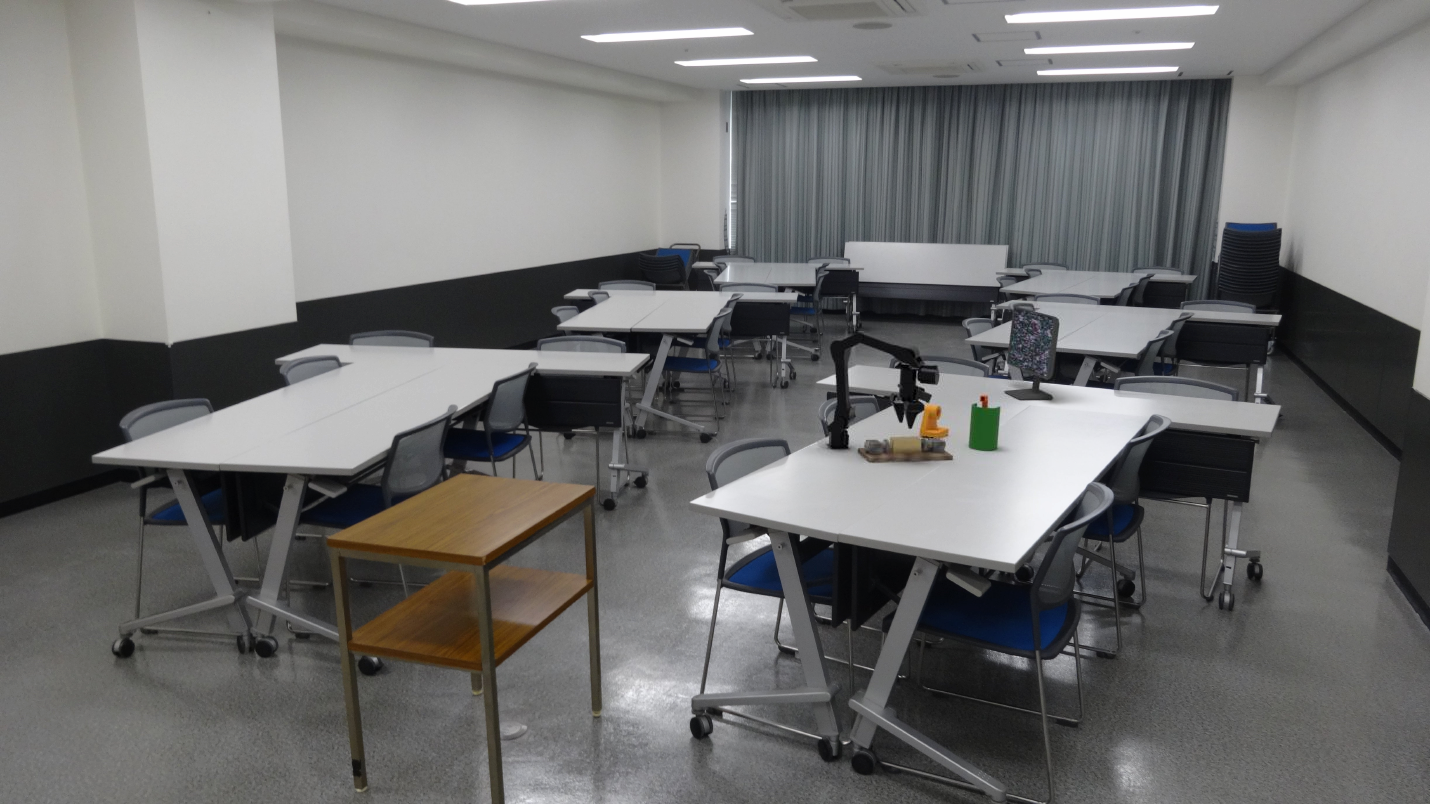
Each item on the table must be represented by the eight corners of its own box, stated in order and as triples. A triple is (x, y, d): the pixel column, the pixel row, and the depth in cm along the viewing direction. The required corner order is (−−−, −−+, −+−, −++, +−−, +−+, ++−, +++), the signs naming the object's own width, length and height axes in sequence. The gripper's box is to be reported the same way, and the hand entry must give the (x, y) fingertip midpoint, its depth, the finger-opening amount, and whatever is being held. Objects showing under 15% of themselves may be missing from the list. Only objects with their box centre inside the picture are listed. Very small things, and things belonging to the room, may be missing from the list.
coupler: (916, 449, 338) (917, 436, 337) (920, 452, 334) (921, 439, 333) (889, 450, 337) (890, 437, 336) (893, 453, 333) (894, 439, 332)
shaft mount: (870, 462, 327) (870, 445, 325) (857, 452, 340) (858, 435, 339) (952, 459, 331) (953, 442, 330) (937, 449, 345) (938, 433, 344)
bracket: (936, 440, 359) (938, 409, 356) (919, 437, 363) (921, 406, 361) (949, 435, 367) (951, 404, 365) (931, 432, 372) (933, 402, 369)
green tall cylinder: (998, 446, 351) (1002, 393, 346) (994, 452, 343) (999, 397, 339) (970, 443, 355) (974, 390, 351) (966, 448, 347) (970, 395, 343)
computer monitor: (992, 387, 464) (999, 305, 456) (1024, 387, 466) (1031, 305, 458) (1031, 406, 422) (1039, 316, 413) (1066, 406, 423) (1074, 316, 415)
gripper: (940, 386, 323) (937, 431, 326) (920, 376, 341) (917, 419, 344) (909, 387, 321) (906, 432, 324) (890, 377, 339) (888, 420, 342)
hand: (905, 425), depth 334 cm, fingers open, 9 cm apart
